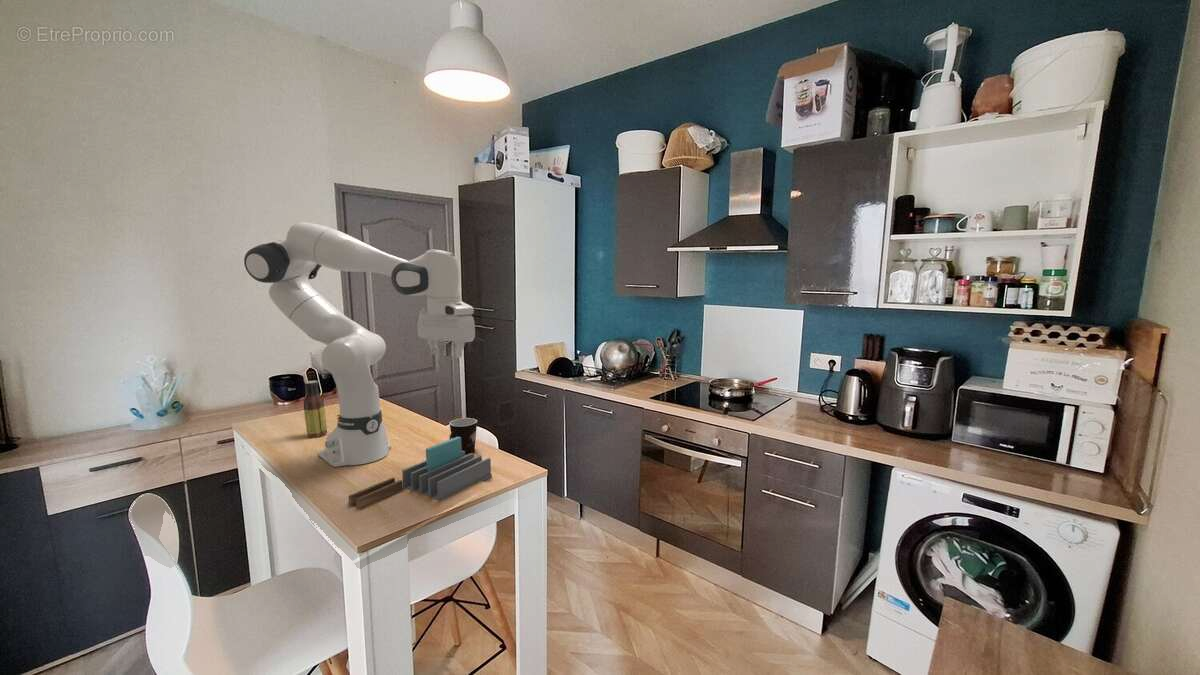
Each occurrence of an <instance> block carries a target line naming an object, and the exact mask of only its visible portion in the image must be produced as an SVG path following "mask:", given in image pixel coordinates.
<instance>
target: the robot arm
mask: <svg viewBox="0 0 1200 675" xmlns="http://www.w3.org/2000/svg"><path fill="white" fill-rule="evenodd" d="M453 253H454V252H453ZM453 253H452V252H450V251H447V250H443V249H442V250H440V249H435V248H432V249H431V248H430V249H428V250H426V252H424V253H423V254H422V255H420V256H418V257H416V258H413V259H410V260H407V259H405V258H402V257H399V256H395V255H393V254H390V253H387V252H384V251H381V250H379V249H378V248H376V247H373V246H371V245H370V244H367V243H365V242H363V241H362V240H359V239H357V238H356V237H354V236H351V235H350V234H347V233H344V232H342V231H340V230H338V229H335V228H332V227H329V226H325V225H322V224H317V223H313V222H306V221H301V222H296V223H294V224H292V226H290V227H289V229H288V231H287V233H286V238H285V239H281V240H280V239H279V240H277V241H271V242H267V243H262V244H259V245H256V246H253V247H252V248H250V249H249V250H248V251H247V252H246V253H245V255H244V258H243V259H244V260H243V263H244V267H245V270H246V272H247V273H248V274H249V276H250V277H251V278H252V279H253V280H255V281H257V282H259V283H266V284H271V285H270V286H269V288H268V296H269V298H270V299H271V301H272V302H273V303H274V305H275V306H276V307H277V308H278V309H279V311H281V313H282V314H284V316H286V318H287V319H288V320H290V321H291V323H293V324H294V325H295V326H297V327H298V328H299V329H300V330H301V331H302V332H303V333H304V334H306V336H308V337H309V338H310V339H312V340H313V341H316V342H320V343H321V344H324V345H326V346H325V347H324V349H322V352H321V355H320V356H321V357H320V359H321V363H322V365H323V367H324V369H325V370H327V371H328V372H329V373H330V374H331V376H332V378H333V380H334V383H335V386H336V389H337V393H338V394H337V395H338V402H339V403H338V404H339V414H337V415H336V417H337V418H336V419H337V423H336V426H337V427H335V428H334V429H333V430H332V431H331V432H330V433H328V435H327V436H326V439H325V440H326V441H325V442H324V447H325V448H323V449H321V450H319V451H318V454H317V455H318V456H319V457H320V458H322V460H324V461H325V462H327V464H329V465H330V466H331V467H333V468H334V467H335V468H337V467H342V466H343V467H344V466H358V465H364V464H369V463H373V462H376V461H379V460H381V459H383V458H385V457H386V456H388V454H389V450H390V449H391V448H392V444H390V443H388V442H389V441H388V436H387V429H386V426H385V424H384V423H382V422H383V412H382V410H381V406H380V405H381V403H380V391H379V386H378V384H377V383H376V382H375V381H374V379H373V375H372V373H371V368H370V367H371V366H372V365H375V364H377V363H379V361H380V360H381V359H382V358H383V357H384V355H385V353H386V351H387V350H386V349H387V345H386V342H385V340H384V338H383V337H381V335H379V334H376V333H374V332H372V331H370V330H368V329H366V328H365V327H363V326H362V325H360V324H359V323H357V322H355V321H354V320H353V319H351V318H349V317H348V316H346V315H345V314H343V313H342V312H341V311H339V309H338V308H336V307H335V306H334V305H333V304H332V303H331V302H329V300H327V299H326V298H325V297H323V295H322V294H321V293H319V292H318V291H317V290H316V289H314V287H312V285H311V283H310V280H314V279H315V278H316V277H317V276H318V271H320V268H322V267H323V268H327V269H331V270H335V271H340V272H341V271H342V272H352V273H353V272H354V273H356V272H357V273H361V272H362V273H366V272H367V273H374V274H375V273H376V274H382V275H385V276H387V277H390V280H391V284H392V287H393V288H394V289H395V291H396V292H398V293H399V294H401V295H403V296H409V297H413V296H414V297H416V296H426V297H427V298H426V301H427V302H426V303H427V306H423V307H422V308H421V309H420V310H419V315H418V319H417V335H418V337H419V339H425V340H427V344H428V346H429V348H430V354H431V355H439V354H440V348H439V347H438V346H437V344H436V342H437V341H447V342H455V343H454V344H455V346H456V348H455V350H453V352H452V354H453V357H454V358H462V357H463V353H462V351H463V349H464V347H465V344H466V343H469V342H474V340H475V338H476V325H475V320H474V316H472V315H474V311H475V309H474V307H473V306H471V305H470V304H468V303H466V302H464V301H462V300H461V294H460V292H459V286H460V285H459V284H460V269H459V263H458V259H457V256H456V255H455V254H453Z"/></svg>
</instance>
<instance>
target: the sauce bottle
mask: <svg viewBox="0 0 1200 675" xmlns="http://www.w3.org/2000/svg"><path fill="white" fill-rule="evenodd" d="M318 386H319V381H318V380H308V381H305V382H304V387H305V397H304V400H303V413H304V420H305V427H306V433H307V437H309V436H310V437H309V438H313V437H314V438H318V437H317V436H320V437H323V436H325V435H327V434H328V427H327V417H326V409H325V408H326V407H325V404H324V398H323V397H322V395H321V394H320V391H319V387H318ZM326 433H327V434H326ZM322 435H323V436H322Z"/></svg>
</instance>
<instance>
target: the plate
mask: <svg viewBox="0 0 1200 675" xmlns="http://www.w3.org/2000/svg"><path fill="white" fill-rule="evenodd" d="M449 439H450V438H449ZM449 439H448V440H445V441H442V442H440V443H437V444H435V445H433V446H430V447H427V448H425V461H426V467H427V472H429V471H431V470H434V469H436V468H438V467H440V466H443V465H445V464H447V463H450V462H452V461H454V460H456V459H459V458H461V457H462V447H461V437H455V438H453V439H452V438H451V439H450V440H449Z"/></svg>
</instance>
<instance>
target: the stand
mask: <svg viewBox="0 0 1200 675" xmlns="http://www.w3.org/2000/svg"><path fill="white" fill-rule="evenodd" d="M405 491H406V490H405V489H404V487H403V480H401V479H399V480H397V481H396V478H395V477H390V478H388V479H385V480H383V481H381V482H380V481H379V482H378V483H376V484H373V485H371V486H368V487H366V488H363V489H361V490H359V491H355V492H354V493H352V494H349V495H348V503H347V505H348V506H350V507H352V508H355V509H357V510H359V511H364V510H365V509H367V508H370V507H373V506H374V505H376V504H378V503H381V502H383V501H386V500H387V499H389V498H392V497H394V496H397V495H399V494H401V493H403V492H405Z"/></svg>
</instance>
